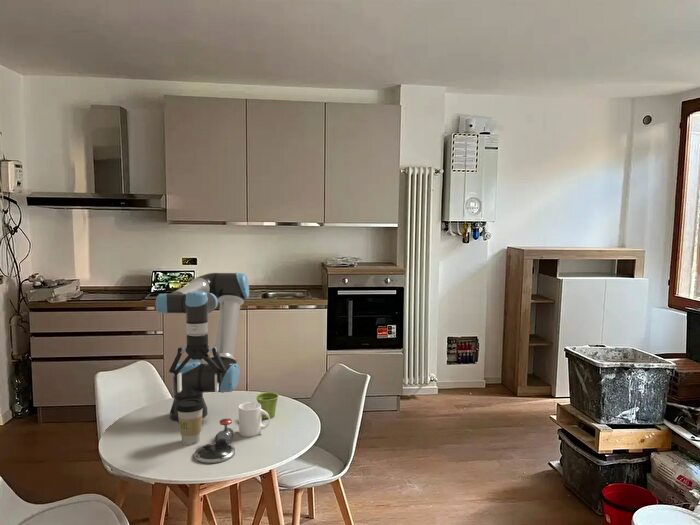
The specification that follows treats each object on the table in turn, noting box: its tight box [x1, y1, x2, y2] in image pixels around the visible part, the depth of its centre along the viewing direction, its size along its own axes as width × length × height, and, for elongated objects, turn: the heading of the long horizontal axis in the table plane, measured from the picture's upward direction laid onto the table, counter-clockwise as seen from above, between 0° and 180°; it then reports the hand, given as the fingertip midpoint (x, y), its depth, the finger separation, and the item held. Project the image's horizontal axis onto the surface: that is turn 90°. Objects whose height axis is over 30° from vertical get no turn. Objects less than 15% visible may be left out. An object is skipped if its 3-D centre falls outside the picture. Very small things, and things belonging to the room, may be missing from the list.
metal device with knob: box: [193, 418, 236, 465], centre depth 191 cm, size 20×14×9 cm
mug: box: [238, 401, 271, 438], centre depth 206 cm, size 9×12×11 cm
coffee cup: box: [176, 399, 204, 446], centre depth 198 cm, size 10×10×15 cm
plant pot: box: [255, 392, 279, 419], centre depth 223 cm, size 9×9×9 cm
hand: (198, 391), depth 195 cm, fingers open, 13 cm apart
